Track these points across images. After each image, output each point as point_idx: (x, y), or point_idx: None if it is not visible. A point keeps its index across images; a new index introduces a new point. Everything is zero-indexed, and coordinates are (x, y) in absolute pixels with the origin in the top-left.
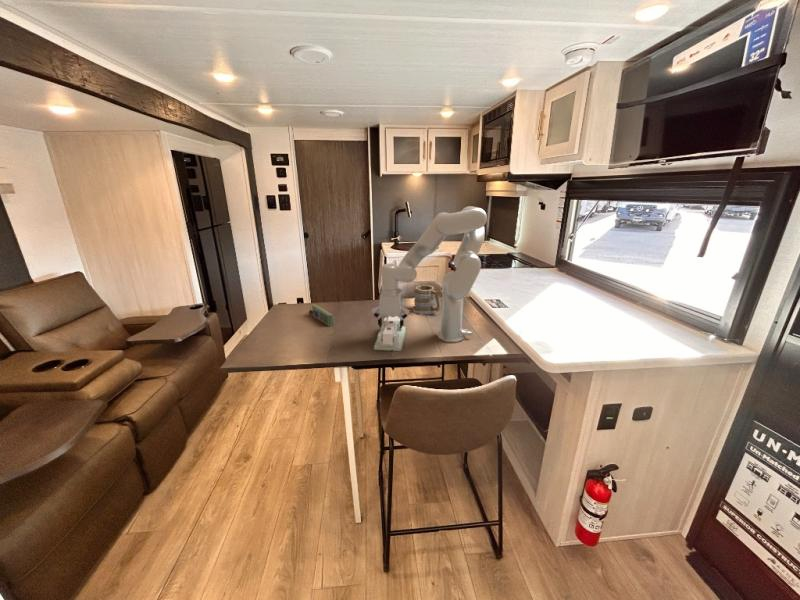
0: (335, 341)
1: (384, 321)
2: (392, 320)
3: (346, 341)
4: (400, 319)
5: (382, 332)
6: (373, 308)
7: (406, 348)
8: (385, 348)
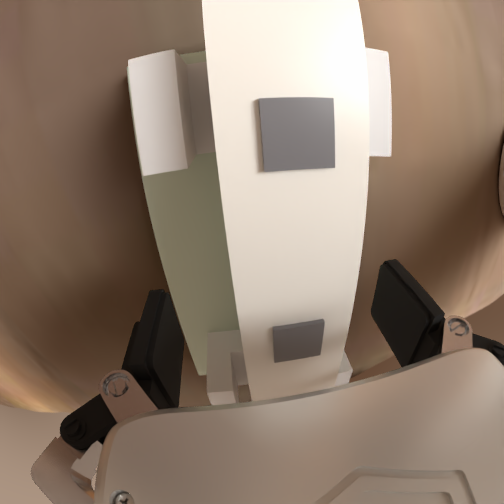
0: (8, 317)
1: (156, 170)
2: (308, 290)
3: (36, 313)
4: (416, 348)
5: (234, 395)
6: (51, 496)
7: (362, 317)
8: None
